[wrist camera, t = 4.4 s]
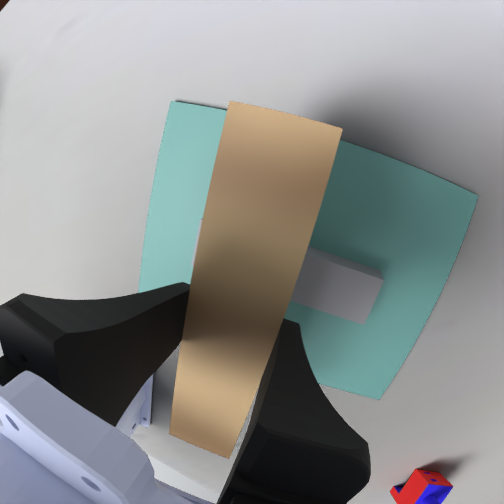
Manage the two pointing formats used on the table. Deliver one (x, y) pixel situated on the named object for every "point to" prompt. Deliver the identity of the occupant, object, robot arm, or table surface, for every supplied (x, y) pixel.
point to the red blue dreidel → (422, 489)
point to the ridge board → (326, 248)
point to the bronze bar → (246, 265)
